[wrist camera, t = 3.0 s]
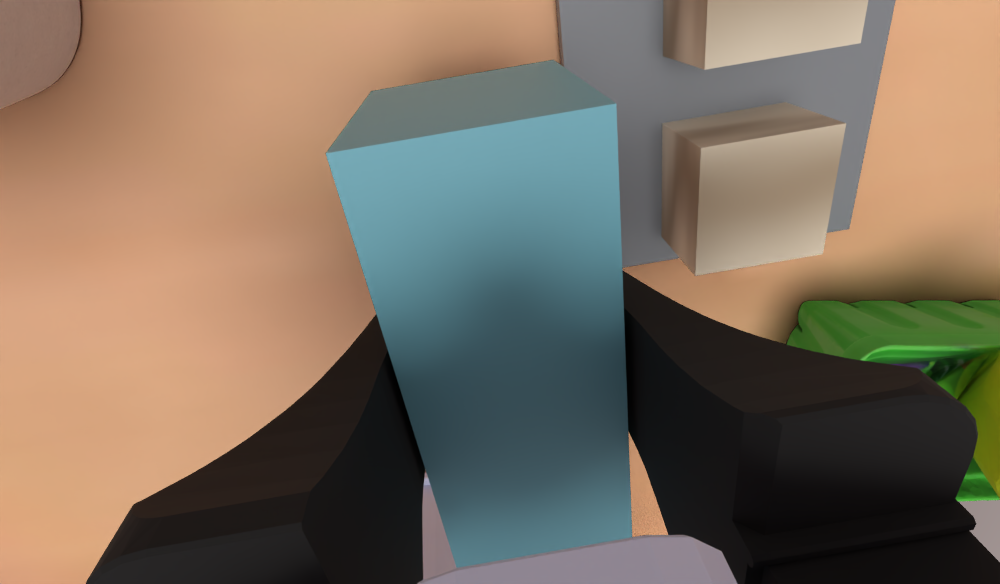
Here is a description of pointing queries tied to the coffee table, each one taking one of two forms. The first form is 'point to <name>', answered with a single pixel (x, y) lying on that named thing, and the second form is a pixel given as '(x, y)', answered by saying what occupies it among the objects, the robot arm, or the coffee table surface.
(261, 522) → the robot arm
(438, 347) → the lintel
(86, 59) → the coffee table surface
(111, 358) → the coffee table surface
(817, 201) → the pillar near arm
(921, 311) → the fruit basket
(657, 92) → the build plate
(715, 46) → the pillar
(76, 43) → the coffee cup
